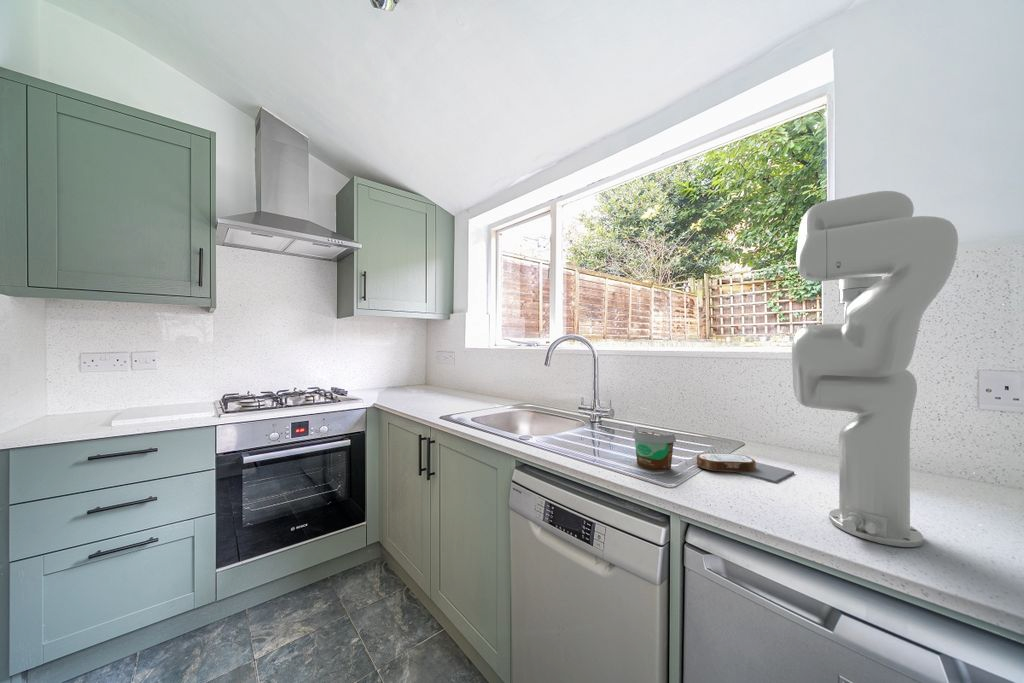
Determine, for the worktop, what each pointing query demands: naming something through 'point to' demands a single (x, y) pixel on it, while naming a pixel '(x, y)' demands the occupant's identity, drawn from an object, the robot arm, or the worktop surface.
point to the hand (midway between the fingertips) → (860, 372)
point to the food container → (653, 450)
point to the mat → (768, 473)
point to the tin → (726, 462)
